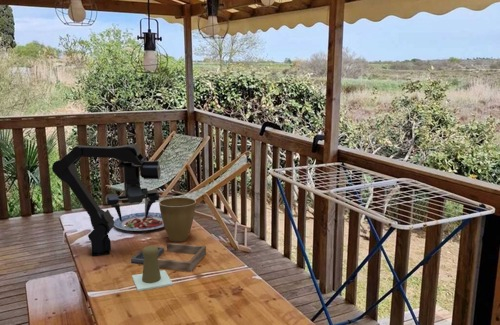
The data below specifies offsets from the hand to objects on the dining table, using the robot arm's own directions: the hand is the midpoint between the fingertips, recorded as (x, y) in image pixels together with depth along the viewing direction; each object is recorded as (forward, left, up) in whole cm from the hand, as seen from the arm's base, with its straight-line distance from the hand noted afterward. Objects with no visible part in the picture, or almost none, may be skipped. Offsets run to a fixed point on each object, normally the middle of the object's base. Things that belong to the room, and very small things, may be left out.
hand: (133, 219), depth 167 cm
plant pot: (+19, +8, -13) cm, 24 cm away
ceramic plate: (+9, +32, -14) cm, 36 cm away
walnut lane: (+13, -14, -13) cm, 23 cm away
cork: (+1, -27, -13) cm, 30 cm away
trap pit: (+4, -7, -13) cm, 15 cm away
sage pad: (+1, -27, -13) cm, 30 cm away
